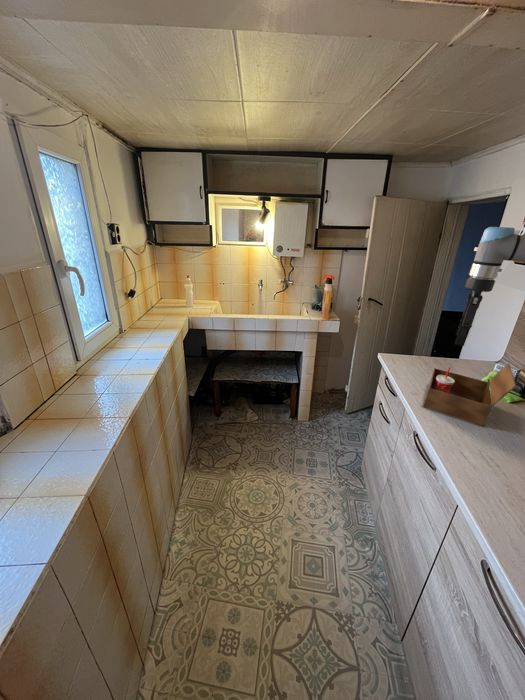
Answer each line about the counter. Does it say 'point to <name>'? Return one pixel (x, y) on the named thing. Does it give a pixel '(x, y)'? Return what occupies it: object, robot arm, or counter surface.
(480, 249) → the robot arm
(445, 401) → the brown open-topped box
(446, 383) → the beverage cup
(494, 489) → the counter surface
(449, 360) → the counter surface
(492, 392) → the flap
